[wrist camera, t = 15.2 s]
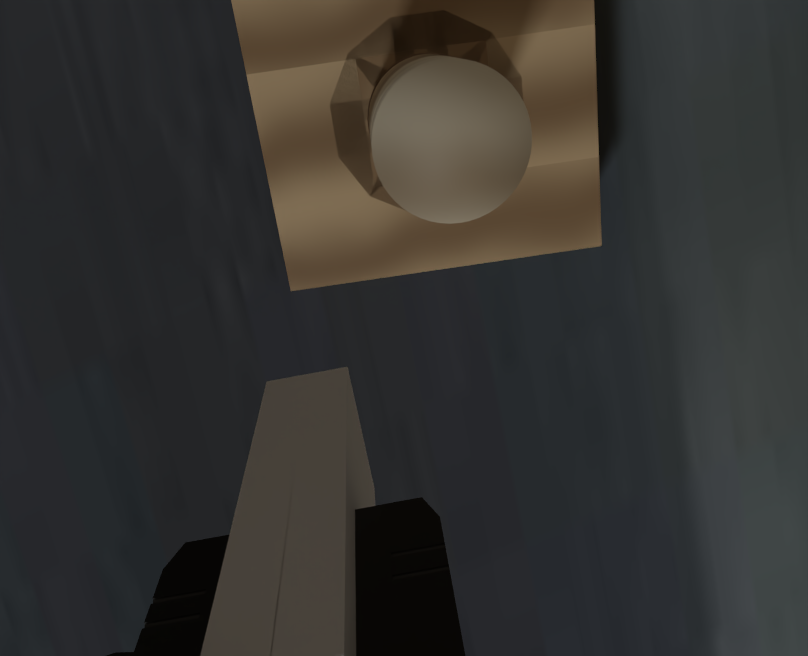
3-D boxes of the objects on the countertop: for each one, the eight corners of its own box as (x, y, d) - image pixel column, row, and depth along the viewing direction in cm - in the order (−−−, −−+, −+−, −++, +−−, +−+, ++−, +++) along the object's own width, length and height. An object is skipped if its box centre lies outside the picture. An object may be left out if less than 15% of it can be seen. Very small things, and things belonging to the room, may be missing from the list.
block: (241, -26, 36) (223, -36, 31) (561, -72, 36) (591, -89, 31) (298, 262, 41) (290, 291, 37) (574, 222, 41) (601, 245, 37)
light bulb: (358, 59, 37) (358, 69, 24) (468, 43, 37) (527, 45, 24) (375, 170, 39) (382, 235, 26) (478, 155, 39) (538, 212, 26)
